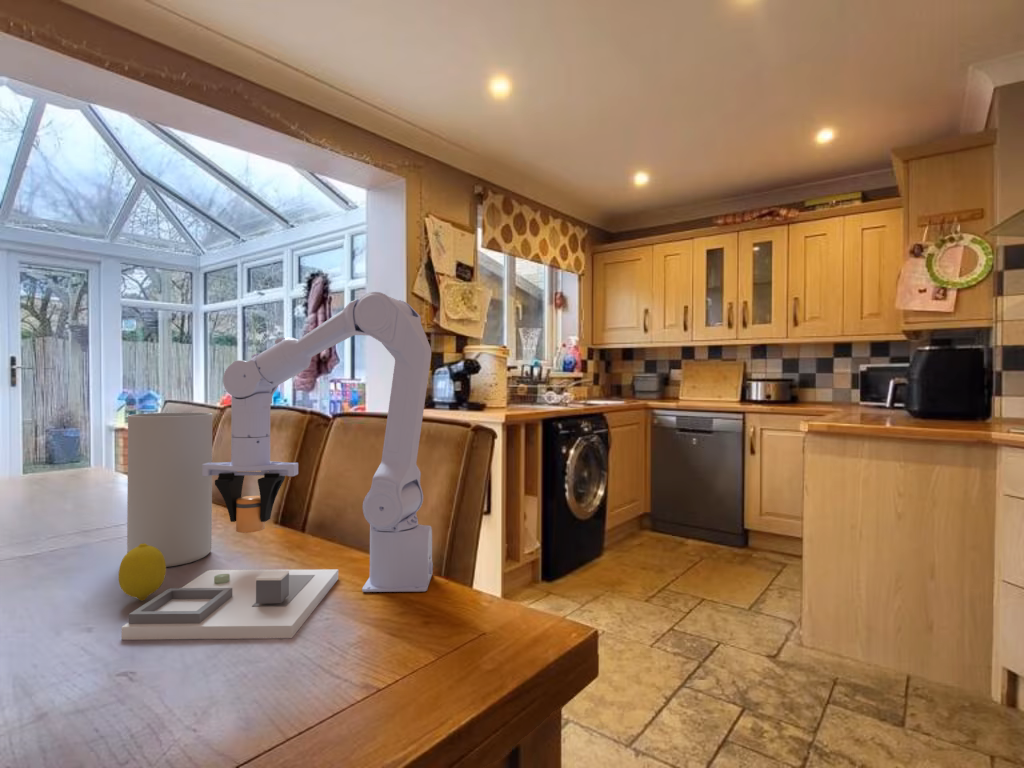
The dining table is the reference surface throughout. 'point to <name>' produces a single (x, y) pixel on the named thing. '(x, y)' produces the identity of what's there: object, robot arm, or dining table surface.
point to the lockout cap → (248, 514)
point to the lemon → (142, 571)
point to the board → (229, 607)
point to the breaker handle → (272, 587)
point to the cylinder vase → (170, 485)
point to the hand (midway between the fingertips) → (250, 520)
